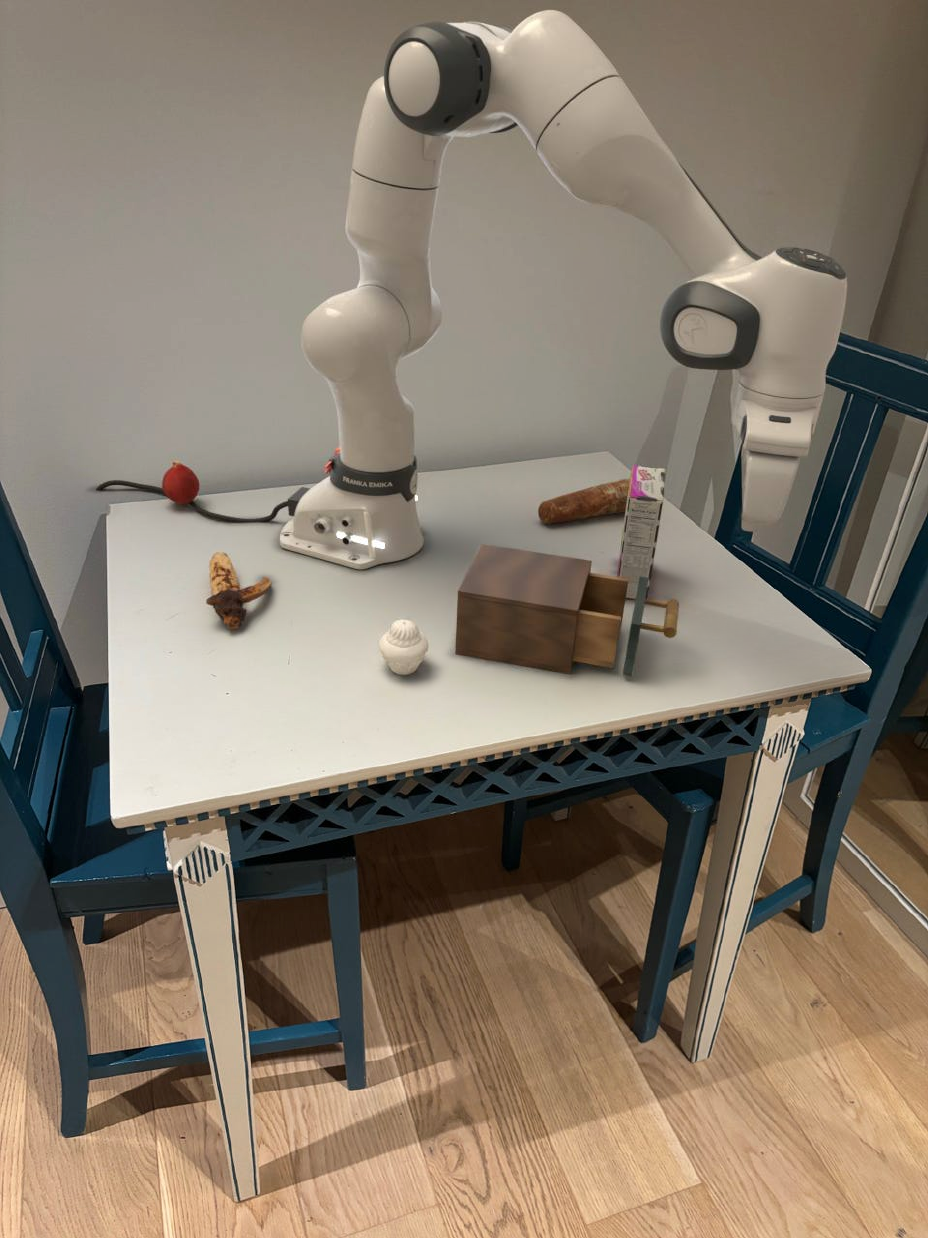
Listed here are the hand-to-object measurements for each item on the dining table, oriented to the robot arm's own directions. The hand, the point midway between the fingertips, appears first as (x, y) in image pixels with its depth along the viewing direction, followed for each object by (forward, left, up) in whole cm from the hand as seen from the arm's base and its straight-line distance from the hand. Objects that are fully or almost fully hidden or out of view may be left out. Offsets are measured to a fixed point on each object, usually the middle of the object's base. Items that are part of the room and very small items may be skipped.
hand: (748, 525), depth 104 cm
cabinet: (-25, 0, -21) cm, 33 cm away
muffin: (-38, -11, -21) cm, 45 cm away
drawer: (-15, 0, -20) cm, 25 cm away
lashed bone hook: (-65, -2, -21) cm, 69 cm away
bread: (-21, +40, -21) cm, 50 cm away
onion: (-87, +22, -21) cm, 92 cm away
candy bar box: (-12, +20, -21) cm, 31 cm away
